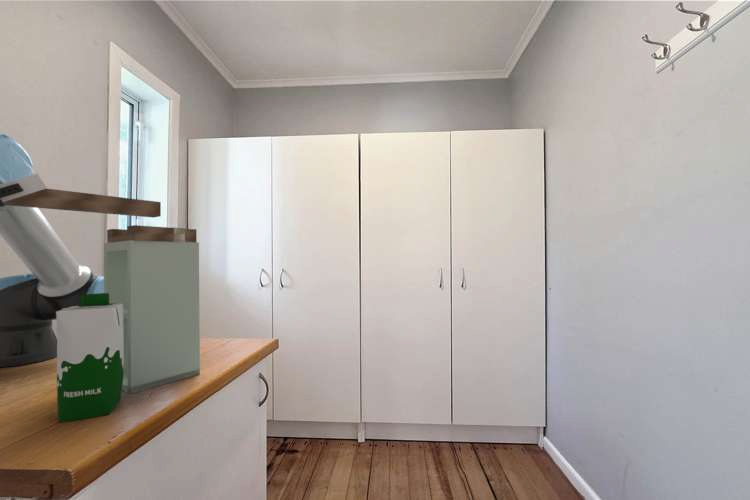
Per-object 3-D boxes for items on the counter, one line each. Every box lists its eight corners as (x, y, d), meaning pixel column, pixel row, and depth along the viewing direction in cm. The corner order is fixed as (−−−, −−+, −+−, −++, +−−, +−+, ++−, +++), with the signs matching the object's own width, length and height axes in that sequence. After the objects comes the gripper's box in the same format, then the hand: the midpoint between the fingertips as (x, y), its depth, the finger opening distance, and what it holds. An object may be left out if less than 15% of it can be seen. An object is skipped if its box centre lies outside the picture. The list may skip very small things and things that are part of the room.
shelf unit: (130, 393, 70) (130, 240, 71) (103, 382, 78) (103, 243, 78) (199, 374, 82) (198, 242, 83) (170, 365, 89) (169, 244, 90)
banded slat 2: (135, 240, 71) (135, 224, 71) (127, 241, 73) (127, 225, 73) (196, 242, 82) (196, 228, 83) (188, 243, 84) (188, 229, 84)
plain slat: (-24, 200, 58) (-24, 180, 58) (-28, 202, 59) (-28, 183, 59) (160, 216, 81) (160, 202, 81) (153, 217, 83) (153, 203, 83)
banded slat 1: (112, 242, 77) (112, 228, 78) (107, 243, 79) (107, 229, 79) (174, 244, 88) (174, 231, 88) (168, 244, 90) (168, 232, 90)
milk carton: (127, 397, 68) (127, 291, 69) (115, 416, 60) (115, 295, 61) (69, 405, 65) (70, 294, 65) (47, 426, 57) (48, 298, 57)
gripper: (-145, 269, 54) (38, 206, 71) (-141, 268, 45) (67, 196, 62) (-190, 223, 51) (11, 170, 68) (-196, 213, 42) (38, 154, 59)
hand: (37, 182), depth 65 cm, fingers closed on plain slat, 3 cm apart
